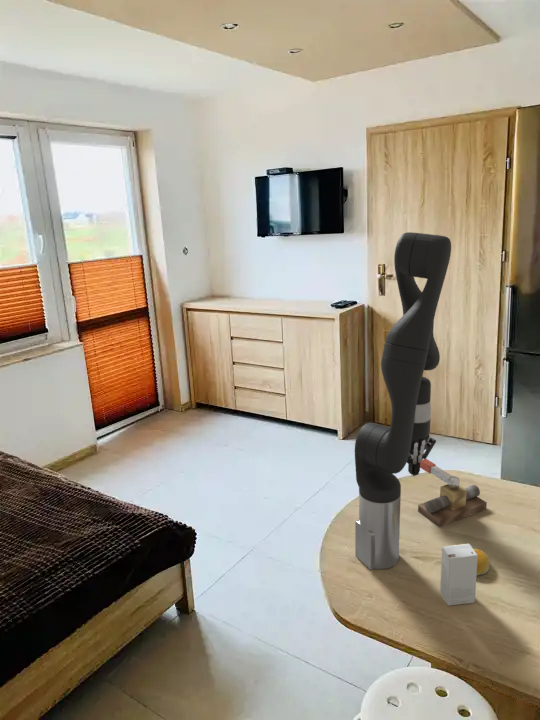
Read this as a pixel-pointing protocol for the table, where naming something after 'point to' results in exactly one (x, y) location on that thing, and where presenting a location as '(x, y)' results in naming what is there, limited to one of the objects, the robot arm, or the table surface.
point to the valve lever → (440, 474)
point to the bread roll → (481, 562)
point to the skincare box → (458, 574)
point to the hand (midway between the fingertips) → (414, 473)
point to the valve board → (453, 514)
